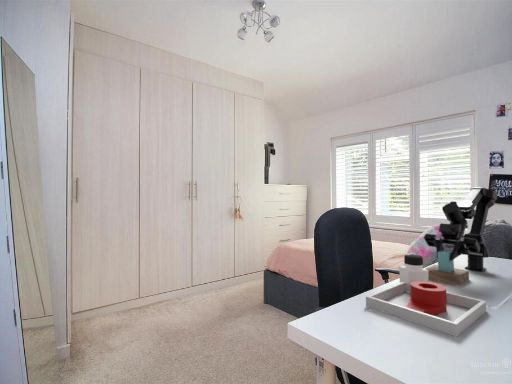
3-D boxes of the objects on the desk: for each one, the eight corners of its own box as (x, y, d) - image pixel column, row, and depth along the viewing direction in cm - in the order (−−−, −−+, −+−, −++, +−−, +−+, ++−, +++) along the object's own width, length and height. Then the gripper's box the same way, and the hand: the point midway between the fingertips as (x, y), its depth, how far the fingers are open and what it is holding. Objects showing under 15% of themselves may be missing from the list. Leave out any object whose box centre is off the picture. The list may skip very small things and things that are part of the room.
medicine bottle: (429, 290, 102) (428, 256, 102) (408, 290, 102) (408, 256, 102) (418, 284, 109) (417, 252, 109) (399, 284, 110) (399, 252, 110)
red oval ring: (417, 299, 94) (417, 279, 94) (450, 308, 87) (450, 286, 87) (392, 314, 82) (392, 291, 83) (428, 326, 75) (428, 300, 75)
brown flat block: (435, 274, 123) (435, 264, 123) (468, 280, 113) (468, 270, 113) (423, 279, 115) (423, 269, 115) (458, 287, 106) (457, 276, 106)
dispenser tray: (403, 289, 103) (403, 281, 103) (486, 311, 84) (486, 301, 84) (365, 306, 88) (365, 296, 88) (456, 336, 69) (456, 324, 69)
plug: (443, 275, 117) (442, 250, 117) (454, 277, 114) (453, 252, 114) (438, 277, 115) (437, 251, 115) (449, 279, 111) (448, 253, 112)
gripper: (425, 214, 124) (412, 242, 118) (477, 217, 109) (464, 250, 103) (434, 231, 129) (422, 259, 123) (485, 236, 113) (474, 269, 107)
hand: (443, 259), depth 114 cm, fingers closed on plug, 4 cm apart
